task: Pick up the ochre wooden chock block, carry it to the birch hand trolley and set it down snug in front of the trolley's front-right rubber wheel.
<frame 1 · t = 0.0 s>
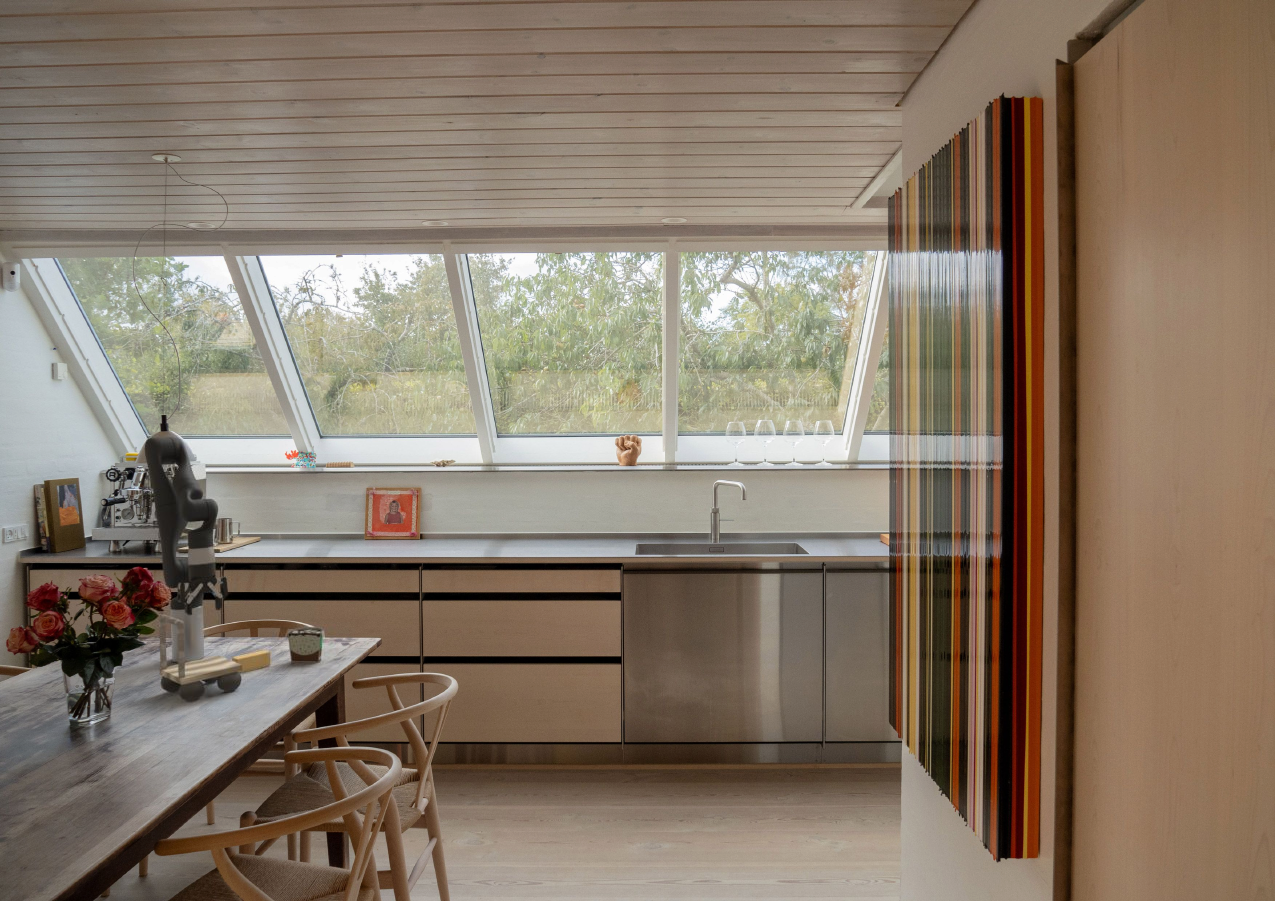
hand: (203, 612, 247), 17 cm above the table, tool pointing down, fingers open, 8 cm apart
trolley: (201, 691, 222), on the table
chock: (251, 668, 244), on the table
food container: (310, 659, 252), on the table
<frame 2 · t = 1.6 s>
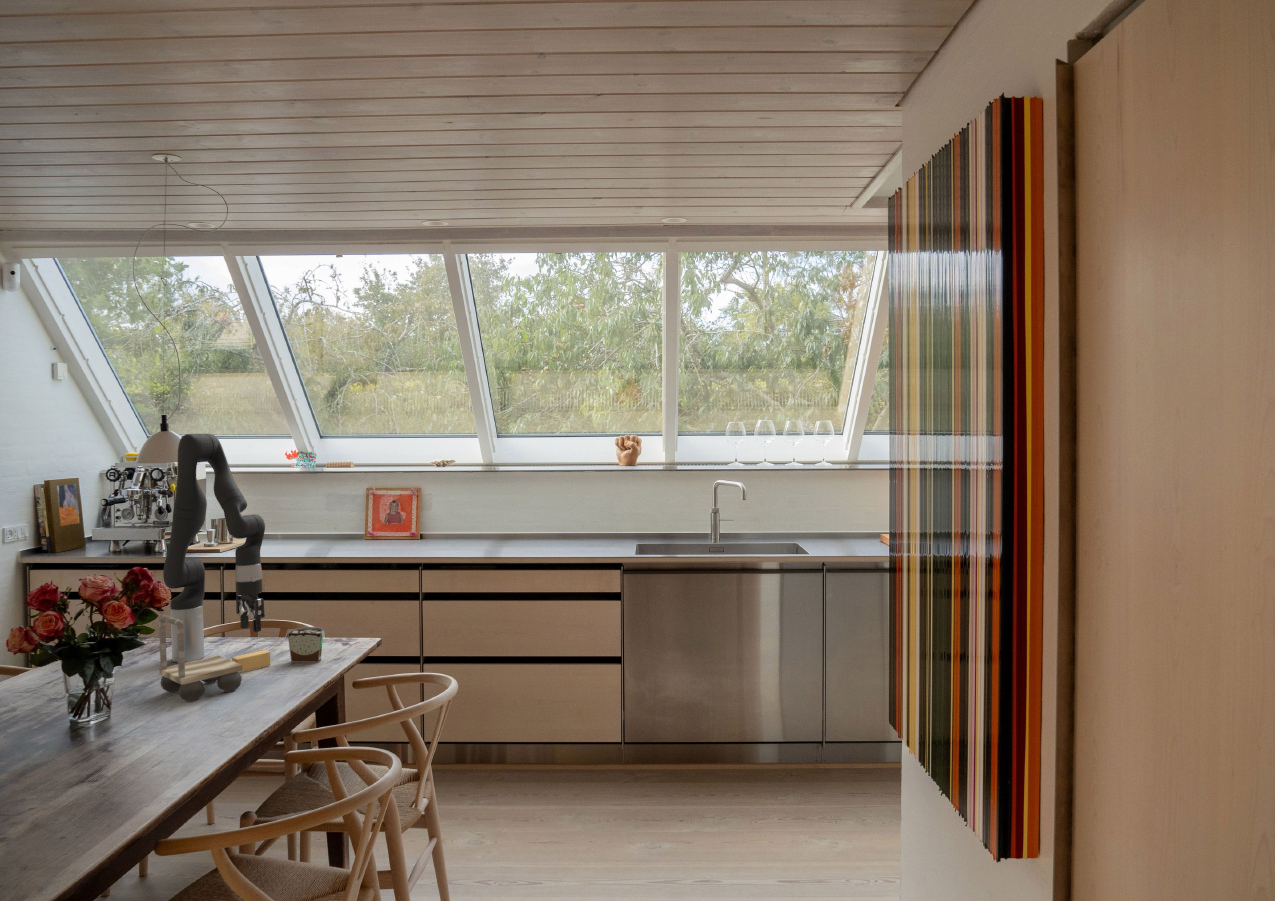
hand: (250, 629, 243), 12 cm above the table, tool pointing down, fingers open, 8 cm apart
nothing on the table moved.
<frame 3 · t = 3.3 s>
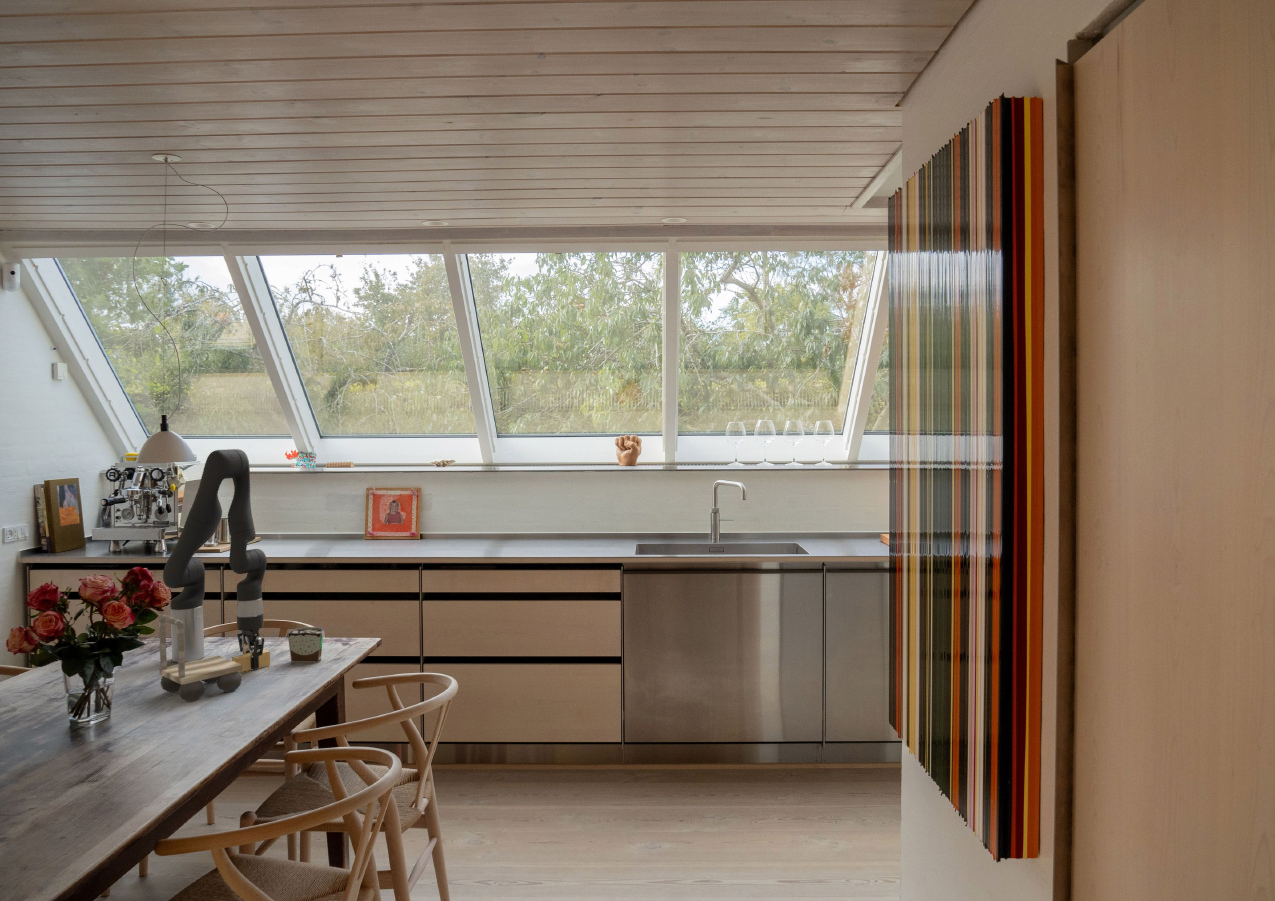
hand: (251, 667, 244), 0 cm above the table, tool pointing down, fingers closed on chock, 4 cm apart
chock: (251, 668, 244), on the table, touching gripper
everything else where it was.
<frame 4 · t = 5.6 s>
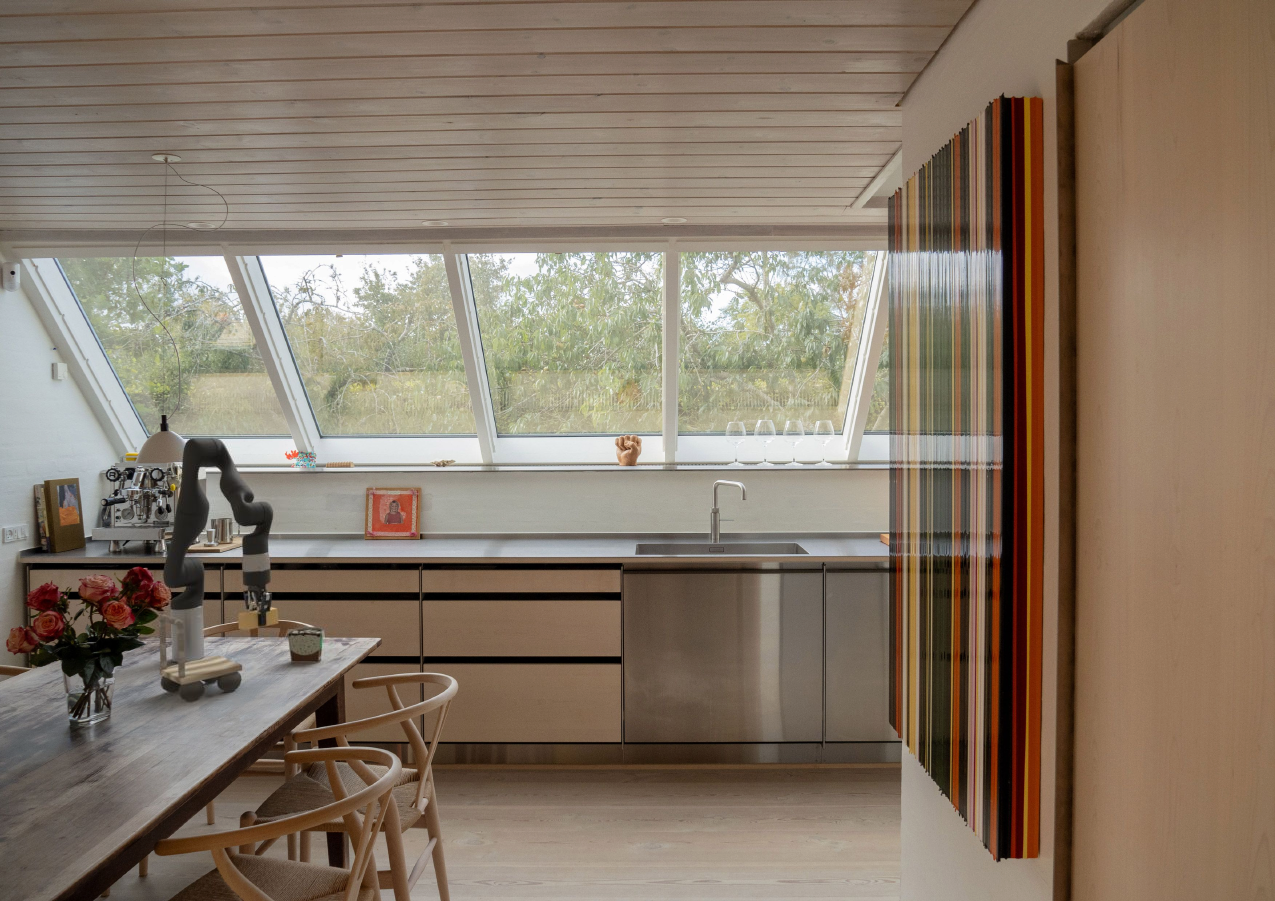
hand: (258, 624, 233), 16 cm above the table, tool pointing down, fingers closed on chock, 4 cm apart
chock: (258, 625, 233), point 16 cm above the table, touching gripper
everything else where it was.
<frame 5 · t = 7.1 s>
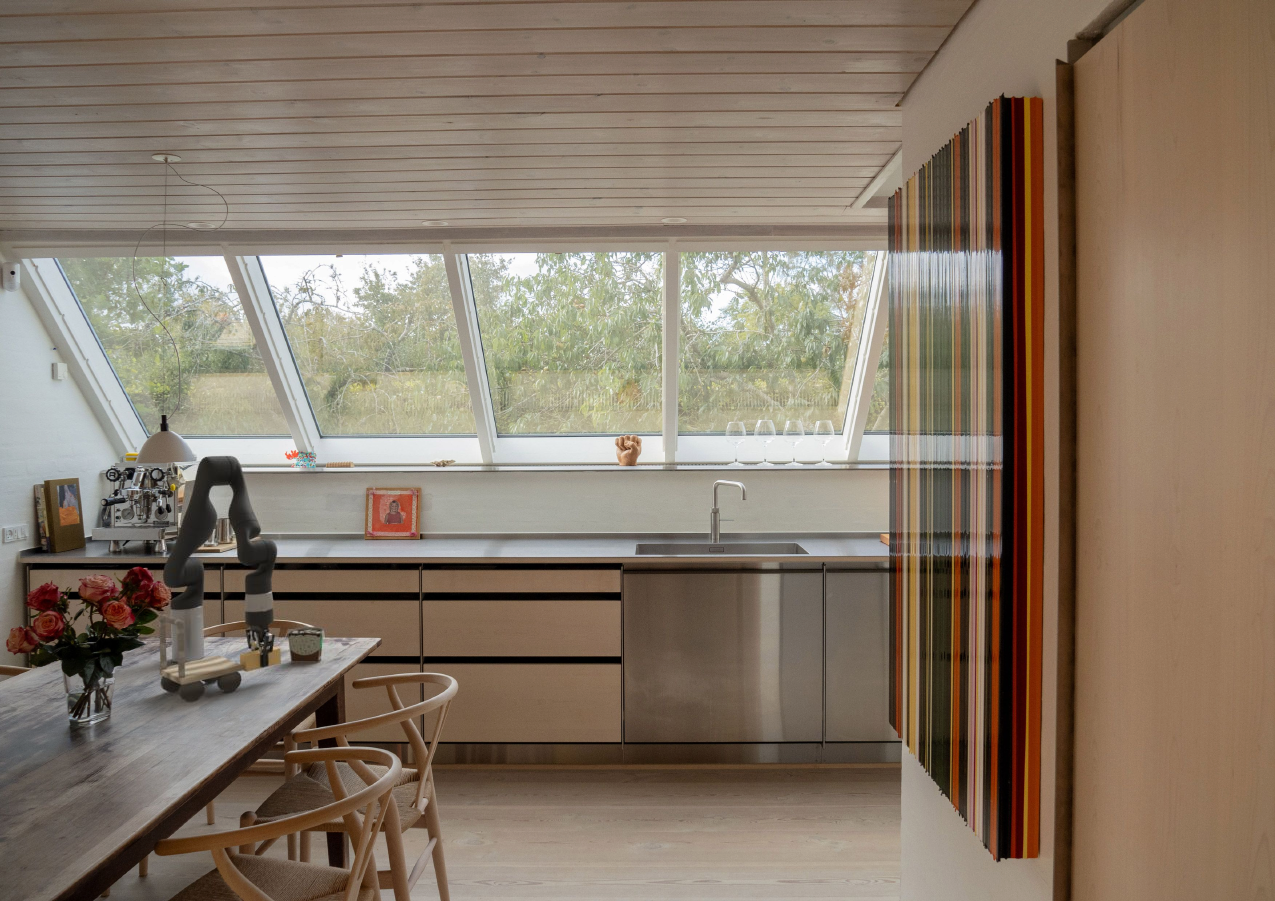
hand: (260, 664, 229), 5 cm above the table, tool pointing down, fingers closed on chock, 4 cm apart
chock: (260, 666, 229), point 5 cm above the table, touching gripper
everything else where it was.
when the fingers open (1 cm above the table, at t = 8.3 s): chock drops 1 cm, on the table.
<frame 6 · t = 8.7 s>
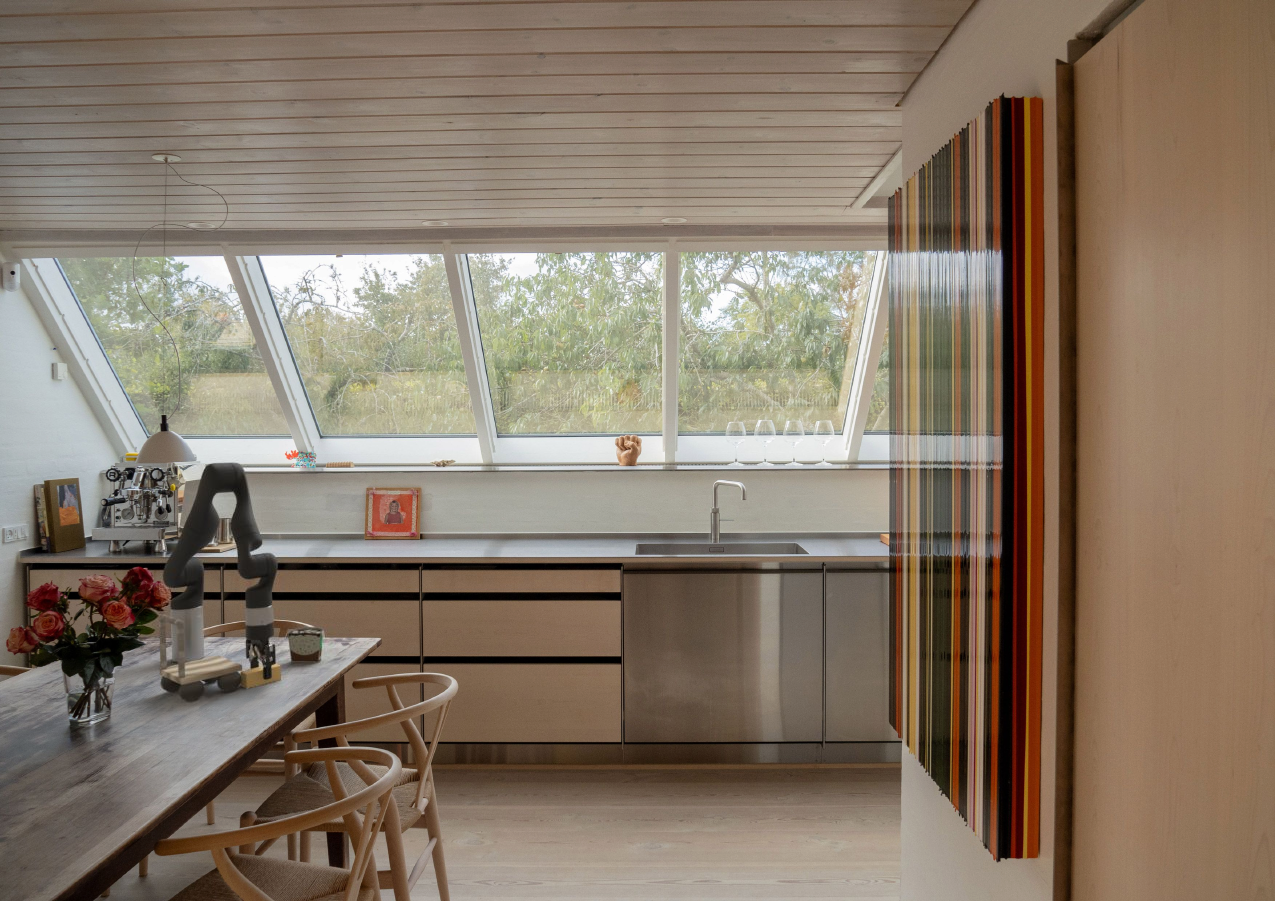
hand: (261, 676, 229), 2 cm above the table, tool pointing down, fingers open, 7 cm apart
chock: (261, 683, 229), on the table
everything else where it was.
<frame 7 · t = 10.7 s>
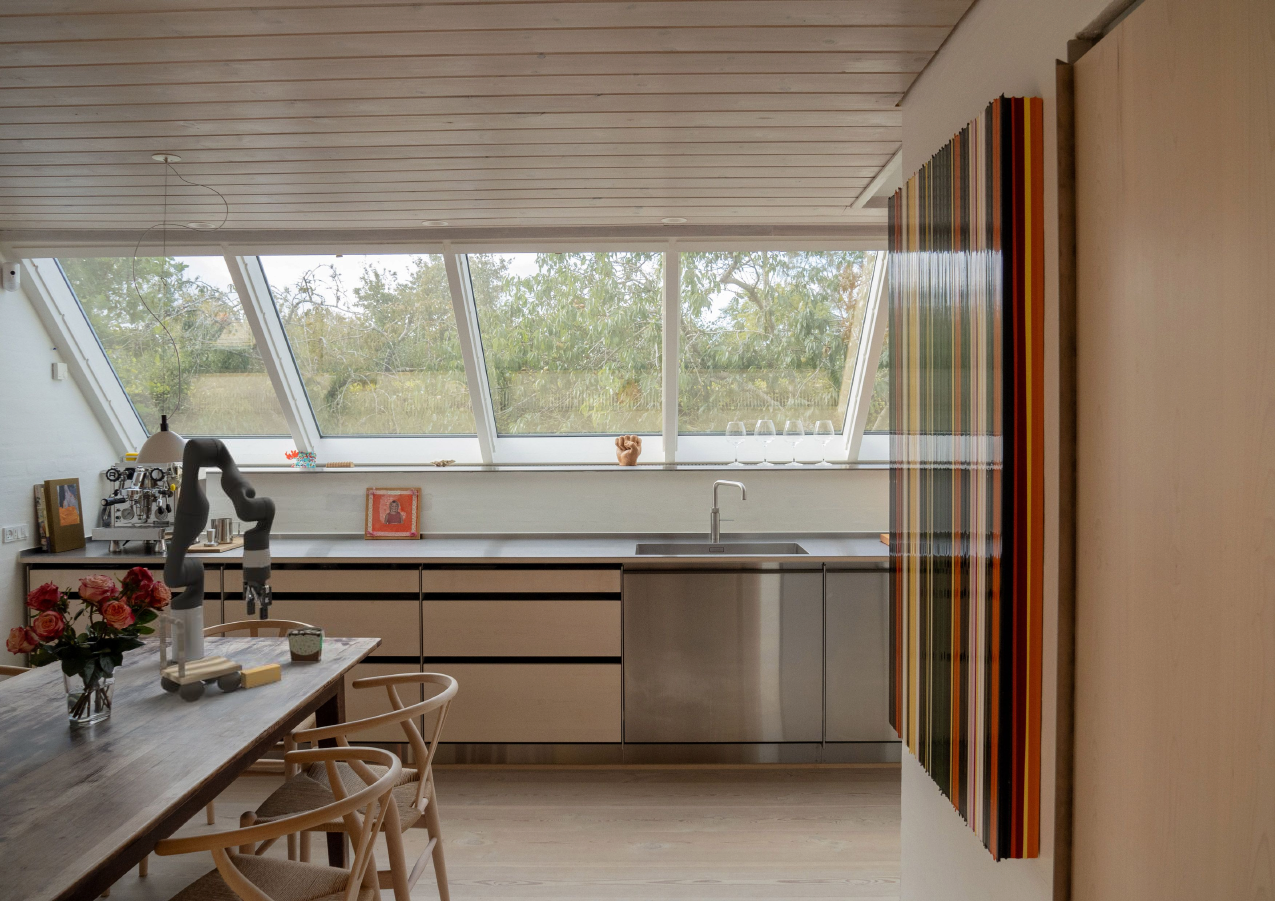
hand: (257, 617, 234), 18 cm above the table, tool pointing down, fingers open, 8 cm apart
nothing on the table moved.
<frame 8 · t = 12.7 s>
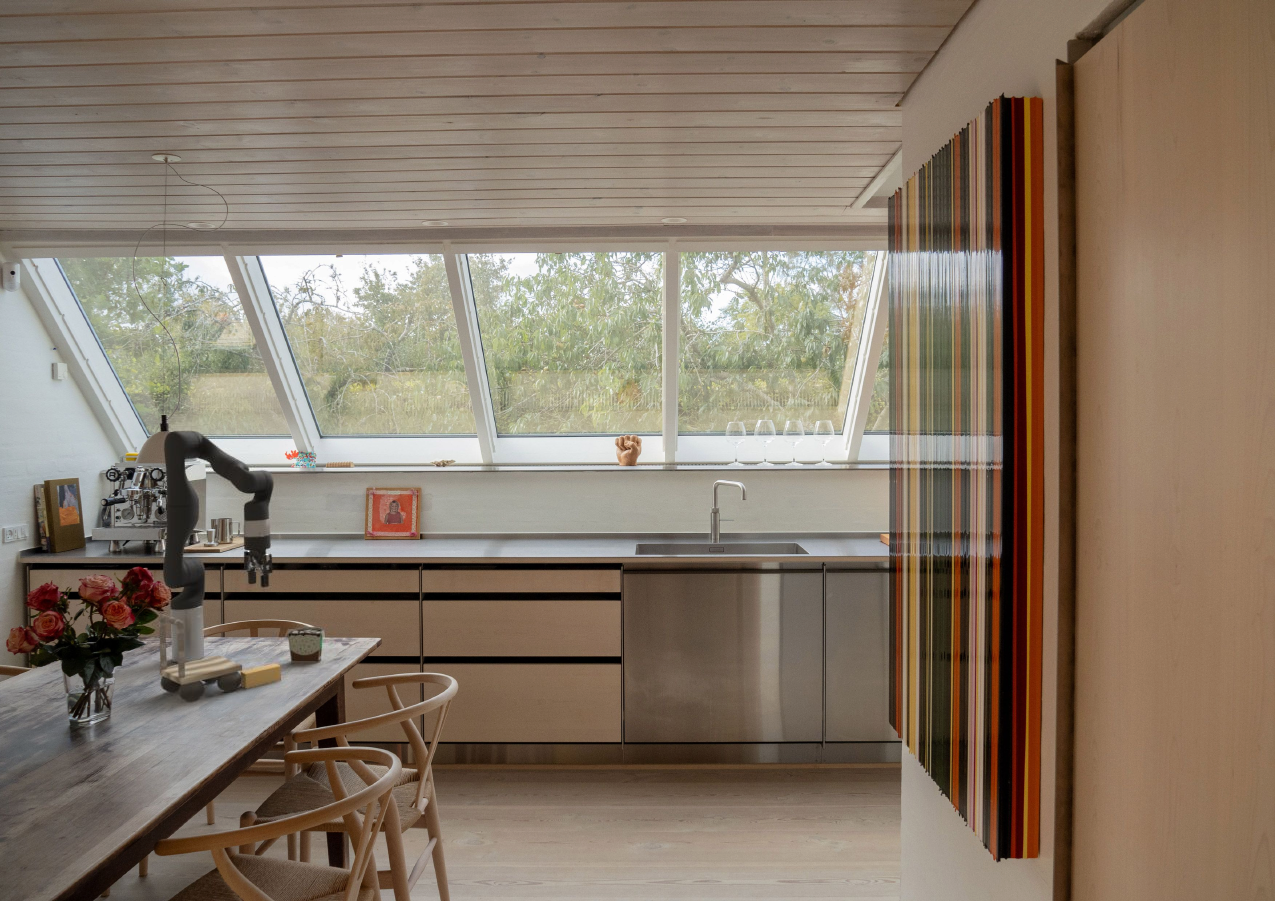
hand: (258, 585, 244), 26 cm above the table, tool pointing down, fingers open, 8 cm apart
nothing on the table moved.
at the end: chock 0.4 cm from the target spot, on the table; chock tilted 0°; the gripper is holding nothing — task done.
